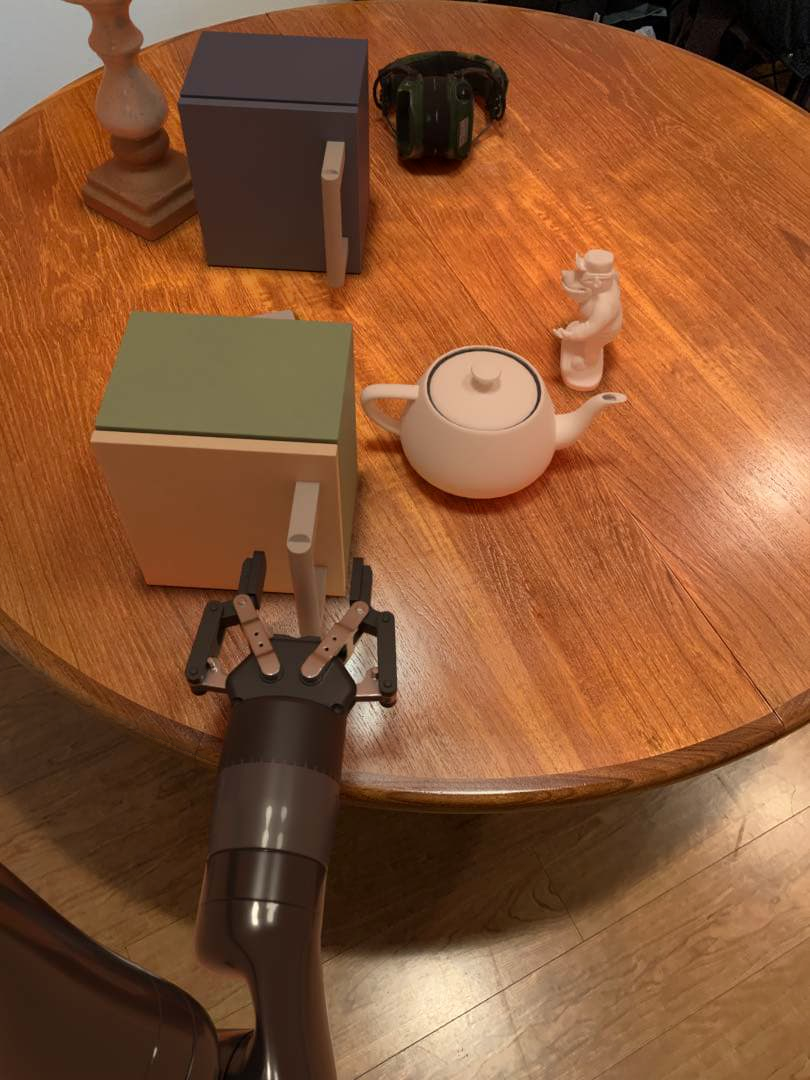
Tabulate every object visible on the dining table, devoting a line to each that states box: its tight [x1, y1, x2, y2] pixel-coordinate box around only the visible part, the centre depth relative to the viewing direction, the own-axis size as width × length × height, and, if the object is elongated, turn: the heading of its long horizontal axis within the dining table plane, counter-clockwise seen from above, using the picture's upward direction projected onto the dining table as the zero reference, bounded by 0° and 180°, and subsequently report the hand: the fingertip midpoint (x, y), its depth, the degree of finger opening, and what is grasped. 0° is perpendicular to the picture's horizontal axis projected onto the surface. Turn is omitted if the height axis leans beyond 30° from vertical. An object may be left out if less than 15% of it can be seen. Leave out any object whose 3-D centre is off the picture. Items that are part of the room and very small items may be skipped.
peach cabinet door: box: [89, 429, 347, 637], centre depth 66 cm, size 7×16×18 cm, turn 87°
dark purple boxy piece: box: [179, 30, 371, 267], centre depth 93 cm, size 11×16×18 cm
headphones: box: [372, 50, 510, 161], centre depth 108 cm, size 13×13×20 cm
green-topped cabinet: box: [93, 310, 359, 584], centre depth 71 cm, size 11×16×18 cm
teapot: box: [359, 344, 628, 499], centre depth 79 cm, size 22×14×11 cm, turn 86°
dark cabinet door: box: [176, 96, 362, 289], centre depth 88 cm, size 7×16×18 cm, turn 87°
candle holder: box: [61, 0, 198, 242], centre depth 93 cm, size 11×11×24 cm
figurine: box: [552, 248, 624, 392], centre depth 85 cm, size 9×7×12 cm
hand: (309, 560), depth 66 cm, fingers open, 6 cm apart
